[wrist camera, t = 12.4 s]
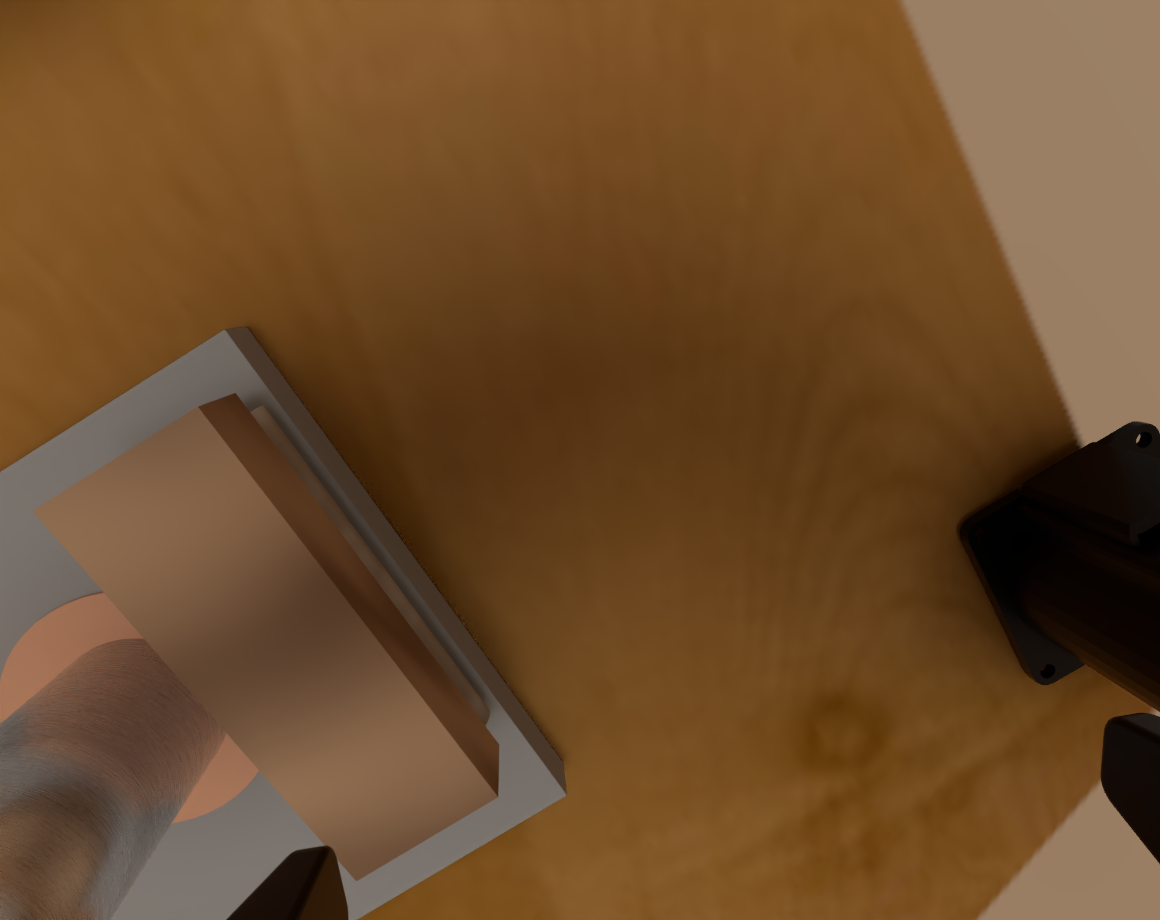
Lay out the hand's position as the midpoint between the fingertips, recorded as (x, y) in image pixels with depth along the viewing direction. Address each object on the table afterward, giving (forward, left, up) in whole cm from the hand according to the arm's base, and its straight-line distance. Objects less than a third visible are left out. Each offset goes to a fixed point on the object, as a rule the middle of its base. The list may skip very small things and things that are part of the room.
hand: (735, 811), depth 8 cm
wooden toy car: (+2, +8, -12) cm, 14 cm away
